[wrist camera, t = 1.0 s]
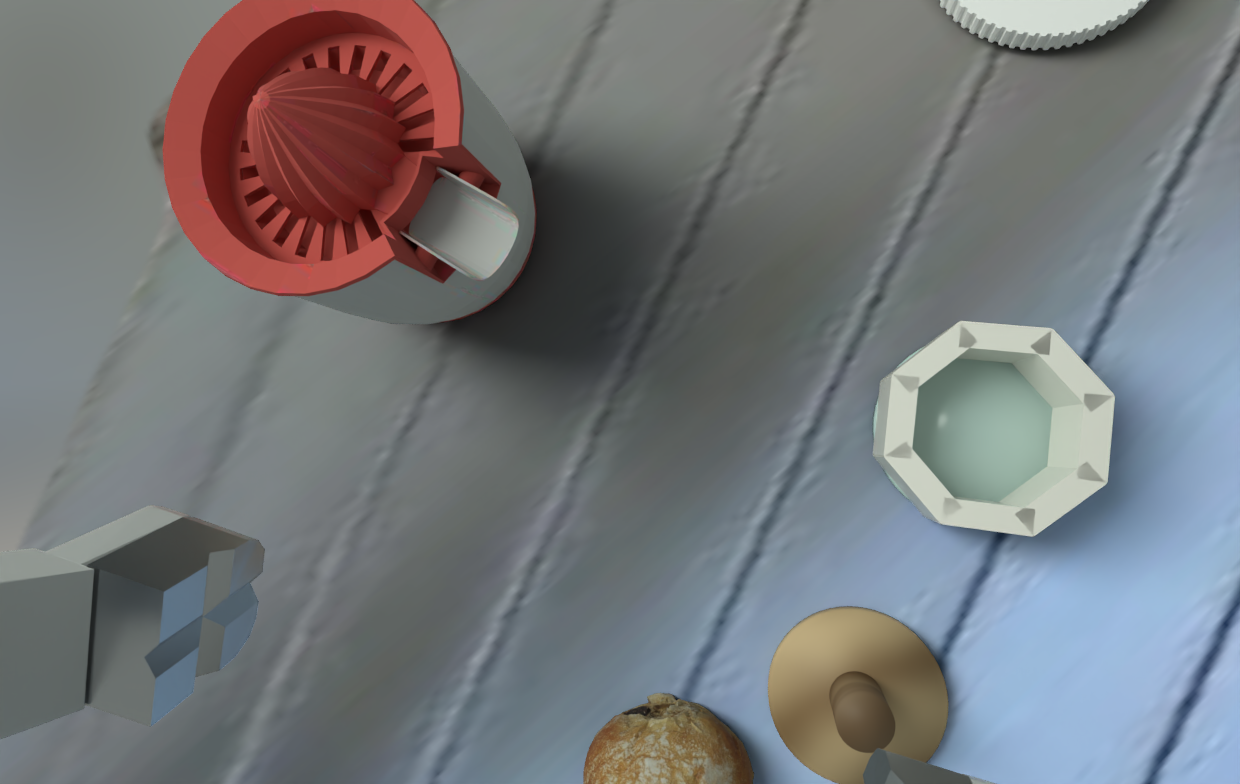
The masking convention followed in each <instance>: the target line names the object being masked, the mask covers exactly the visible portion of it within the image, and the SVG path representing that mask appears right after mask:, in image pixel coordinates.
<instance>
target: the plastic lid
mask: <svg viewBox="0 0 1240 784" xmlns="http://www.w3.org/2000/svg"><path fill="white" fill-rule="evenodd" d="M1148 1H1149V0H940V2H941V3H940V6H941V7H942V8H946V9H947V11H946V13H947V14H948V15H952V16H953V17H954V18H953V20H954V21H955V22H958V21H959V22H960V23H961V27H962V28H966V27H967V28H969V29H970V31H969V32H970V33H972V34H974V33H977V34H979V36H978V37H979V38H981V39H983V38H984V37H985V38H988V42H991V43H993V42H994V41H996V42H998V45H1000V46H1003V45H1004V44H1007V45H1009V48H1015V46H1018V47H1020V49H1021V50H1025V49H1026V48H1031V50H1037V49H1038V48H1043V50H1048V49H1049V48H1050V47H1054V48H1055V49H1060V47H1061V46H1063V45H1065V46H1066V47H1071V46H1072V45H1073V43H1077V44H1082V43H1083V42H1084V41H1085V40H1086V39H1088V40H1089V41H1091V40H1093V39H1094V38H1095V37H1096V36H1097V35H1100V36H1102V35H1104V34H1105V33H1106V32H1107V31H1108V30H1111V31H1112V30H1114V29H1115V28H1116V27H1117V26H1118V25H1119V24H1123V23H1125V22H1126V21H1127V19H1128V18H1129V17H1133V16H1134V15H1135V14H1136V13H1137V11H1138V10H1141V9H1142V8H1143V7H1144V5H1145V4H1146V3H1147V2H1148Z"/></svg>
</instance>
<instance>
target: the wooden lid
mask: <svg viewBox="0 0 1240 784" xmlns="http://www.w3.org/2000/svg"><path fill="white" fill-rule="evenodd" d="M768 697H769V706H770V711H771V715H772V718H773V721H774V724H775V727H776V729H777V731H778V733H779V735H780V737H781V738H782V740H783V741H784V743H785V744H786V746H787V747H788V749H789V750H790V751H791V752H792V753H793V755H794V756H795V757H796V758H797V759H798V760H799V761H800V762H802V763H803V764H804V765H805V766H806V767H808V768H809V769H810V770H812V771H813V772H815V773H816V774H818V775H820V776H822V777H824V778H826V779H828V780H831V781H833V782H835V783H839V784H864V779H863V773H864V771H865V768H866V766H867V763H868V761H869V759H870V757H871V756H872V754H873V753H874V752H875V750H876V749H877V748H880V749H883V750H886V751H889V752H892V753H896V754H899V755H902V756H905V757H908V758H912V759H915V760H918V761H921V762H924V763H926V762H927V761H928V760H929V759H930V758H931V757H932V755H933V754H934V752H935V751H936V749H937V748H938V746H939V744H940V742H941V740H942V738H943V735H944V731H945V728H946V724H947V718H948V695H947V689H946V685H945V681H944V678H943V675H942V672H941V670H940V667H939V666H938V664H937V662H936V660H935V658H934V657H933V655H932V654H931V652H930V651H929V649H928V648H927V647H926V645H925V644H924V643H923V642H922V641H921V640H920V639H919V638H918V636H917V635H916V634H915V633H914V632H912V631H911V630H910V629H909V628H908V627H907V626H905V625H904V624H902V623H901V622H899V621H898V620H896V619H894V618H892V617H890V616H888V615H886V614H884V613H881V612H878V611H876V610H872V609H867V608H863V607H853V606H847V607H835V608H829V609H826V610H823V611H819V612H817V613H815V614H812V615H810V616H808V617H807V618H805V619H804V620H802V621H800V622H799V623H798V624H797V625H796V626H794V627H793V628H792V629H791V630H790V631H789V632H788V633H787V635H786V636H785V637H784V638H783V640H782V641H781V643H780V644H779V646H778V648H777V650H776V652H775V654H774V656H773V659H772V663H771V666H770V671H769V678H768Z"/></svg>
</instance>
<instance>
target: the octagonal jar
mask: <svg viewBox="0 0 1240 784" xmlns="http://www.w3.org/2000/svg"><path fill="white" fill-rule="evenodd" d="M1114 402H1115V396H1114V394H1113V393H1112V392H1111V391H1110V389H1109V388H1108V387H1107V386H1106V385H1105V384H1104V383H1103V382H1102V381H1101V380H1100V379H1099V378H1098V377H1097V376H1096V374H1095V373H1094V372H1093V371H1092V370H1091V369H1090V368H1089V367H1088V366H1087V365H1086V364H1085V363H1084V362H1083V361H1082V359H1081V358H1080V357H1079V356H1078V355H1077V354H1076V353H1075V352H1074V351H1073V350H1072V349H1071V348H1070V347H1069V346H1068V345H1067V343H1066V342H1065V341H1064V340H1063V339H1062V338H1061V337H1060V336H1059V335H1058V334H1057V333H1056V332H1055V331H1054V330H1053V329H1052V328H1041V327H1029V326H1017V325H1004V324H992V323H980V322H967V321H960V322H958V323H957V324H955V325H954V326H952V327H951V328H949V329H948V330H946V331H945V332H943V333H941V334H940V335H939V336H938V337H936V338H935V339H934V340H932V341H931V342H930V343H929V344H927V345H926V346H925V347H923V348H921V349H919V350H918V351H916V352H915V353H913V354H912V355H910V356H909V357H907V358H906V359H905V360H904V361H903V362H902V363H900V364H899V365H898V366H897V367H896V369H895V370H894V371H892V372H891V373H890V374H888V375H887V376H886V377H885V378H883V379H882V380H881V381H880V389H879V395H878V398H877V402H876V405H875V409H874V414H873V427H872V431H873V441H874V447H873V455H874V456H873V457H874V458H875V459H876V460H877V462H878V463H879V464H880V465H881V466H882V468H883V470H884V472H885V474H886V475H887V477H888V478H889V480H890V481H891V482H892V484H893V485H894V486H895V488H896V489H897V490H898V491H899V492H900V493H901V494H902V495H903V496H904V497H906V498H907V499H908V500H909V501H910V502H912V503H913V504H914V506H915V507H916V508H917V509H918V510H919V512H920V513H921V514H922V515H923V516H924V517H926V518H928V519H931V520H933V521H935V522H937V523H940V524H943V525H951V526H958V527H965V528H973V529H980V530H987V531H995V532H1002V533H1010V534H1017V535H1024V536H1032V537H1033V536H1035V535H1037V534H1038V533H1039V532H1041V531H1042V530H1044V529H1045V528H1046V527H1048V526H1049V525H1051V524H1052V523H1053V522H1055V521H1056V520H1057V519H1059V518H1060V517H1062V516H1063V515H1064V514H1066V513H1067V512H1069V511H1070V510H1071V509H1073V508H1074V507H1075V506H1077V505H1078V504H1080V503H1081V502H1082V501H1084V500H1085V499H1087V498H1088V497H1089V496H1091V495H1092V494H1093V493H1095V492H1096V491H1098V490H1099V489H1100V488H1102V487H1103V486H1104V485H1106V484H1107V483H1108V472H1109V460H1110V449H1111V437H1112V425H1113V414H1114ZM1106 482H1107V483H1106Z"/></svg>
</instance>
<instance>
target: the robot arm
mask: <svg viewBox="0 0 1240 784" xmlns="http://www.w3.org/2000/svg"><path fill="white" fill-rule="evenodd" d="M264 552H265V549H264V548H263V546H262V545H261V543H260V542H259V540H256V539H254V538H251V537H248V536H245V535H242V534H240V533H237V532H234V531H231V530H228V529H226V528H223V527H220V526H217V525H214V524H212V523H209V522H206V521H203V520H201V519H198V518H195V517H191V516H189V515H187V514H184V513H181V512H178V511H174V510H171V509H168V508H165V507H162V506H151V505H149V506H147V507H145V508H143V509H140V510H138V511H136V512H134V513H131V514H129V515H127V516H125V517H122V518H120V519H118V520H116V521H113V522H111V523H109V524H107V525H104V526H102V527H100V528H98V529H96V530H93V531H91V532H89V533H87V534H84V535H82V536H80V537H78V538H75V539H73V540H71V541H69V542H66V543H64V544H62V545H60V546H57V547H55V548H53V549H51V550H48V551H46V552H44V551H41V550H38V549H35V548H32V549H23V550H15V551H7V552H0V739H3V738H6V737H8V736H11V735H14V734H17V733H19V732H22V731H25V730H28V729H30V728H33V727H36V726H39V725H41V724H44V723H47V722H49V721H52V720H55V719H58V718H60V717H63V716H66V715H69V714H71V713H74V712H77V711H80V710H82V709H84V708H85V705H87V706H90V707H93V708H96V709H99V710H101V711H104V712H107V713H110V714H113V715H116V716H119V717H122V718H125V719H128V720H131V721H134V722H137V723H140V724H143V725H146V726H149V727H151V726H152V725H154V724H155V723H156V722H157V721H159V720H160V719H161V718H162V717H163V716H165V715H166V714H167V713H168V712H170V711H171V710H172V709H173V708H174V707H176V706H177V705H178V704H179V703H181V702H182V701H183V700H184V699H185V698H187V697H188V696H189V695H190V694H192V693H193V690H194V682H195V677H198V676H202V675H205V674H209V673H213V672H216V671H220V670H221V669H222V668H223V667H224V666H225V665H226V664H228V663H229V662H230V661H231V660H232V659H233V658H235V657H236V655H237V654H238V652H239V651H240V649H241V648H242V646H243V645H244V644H245V642H246V641H247V639H248V638H249V636H250V633H251V631H252V628H253V625H254V623H255V620H256V615H257V609H258V602H259V601H258V599H257V597H256V595H255V593H254V590H253V588H252V586H251V584H250V583H251V582H252V581H253V580H254V579H255V578H256V577H258V576H259V575H260V574H261V573H262V572H263V563H264ZM863 779H864V784H996V783H992V782H989V781H986V780H982V779H979V778H975V777H972V776H969V775H965V774H960V773H956V772H953V771H950V770H947V769H944V768H940V767H937V766H934V765H931V764H928V763H924V762H921V761H918V760H915V759H912V758H908V757H905V756H902V755H899V754H896V753H892V752H889V751H886V750H883V749H880V748H877V749H876V750H875V752H874V753H873V754H872V756H871V757H870V759H869V761H868V763H867V766H866V768H865V771H864V773H863Z"/></svg>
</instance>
